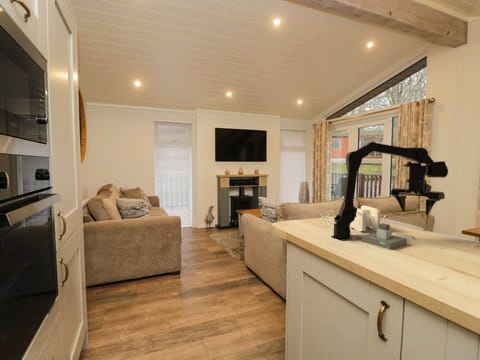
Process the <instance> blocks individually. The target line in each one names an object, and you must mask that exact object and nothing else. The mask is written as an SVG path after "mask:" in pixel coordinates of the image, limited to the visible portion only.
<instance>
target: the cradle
mask: <svg viewBox="0 0 480 360" xmlns="http://www.w3.org/2000/svg"><path fill="white" fill-rule="evenodd" d="M393 235H394V236H398V237H402V238H406V239H407V242H410V241H413V240H415V239H416V236H415V235H411V234H406V233H401V232H398V231H396V232H394V234H393Z"/></svg>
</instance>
